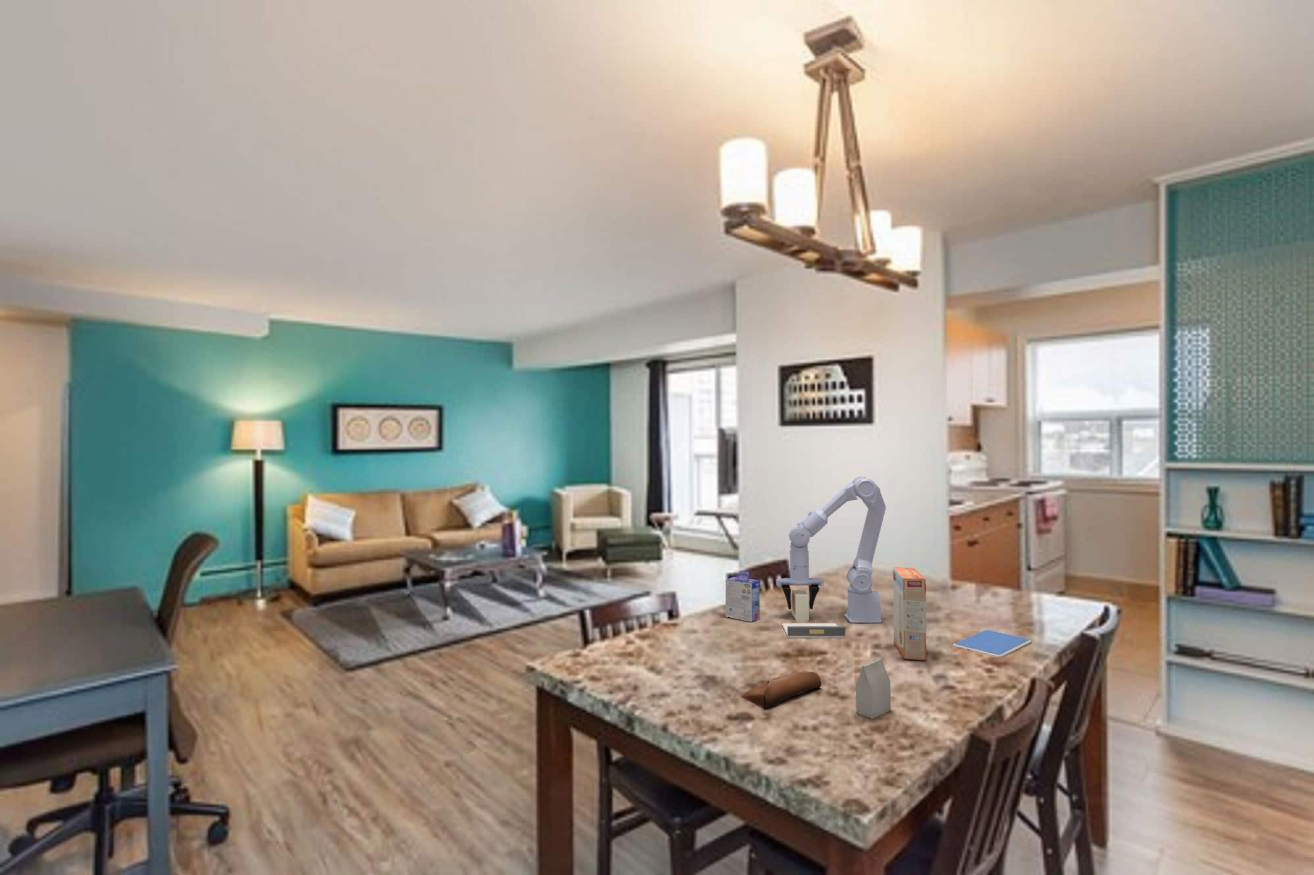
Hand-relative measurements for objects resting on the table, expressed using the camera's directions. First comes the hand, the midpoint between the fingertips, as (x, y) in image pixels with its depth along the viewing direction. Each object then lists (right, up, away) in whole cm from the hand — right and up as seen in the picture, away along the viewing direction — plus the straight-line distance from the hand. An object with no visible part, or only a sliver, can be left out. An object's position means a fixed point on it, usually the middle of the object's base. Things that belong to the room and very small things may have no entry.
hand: (800, 608), depth 195 cm
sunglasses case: (-18, -4, -57) cm, 60 cm away
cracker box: (+21, -3, -32) cm, 39 cm away
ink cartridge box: (-18, -4, +1) cm, 18 cm away
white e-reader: (0, -3, -14) cm, 14 cm away
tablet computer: (+46, -3, -27) cm, 53 cm away
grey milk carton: (0, -3, -67) cm, 67 cm away
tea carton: (0, -3, 0) cm, 3 cm away
